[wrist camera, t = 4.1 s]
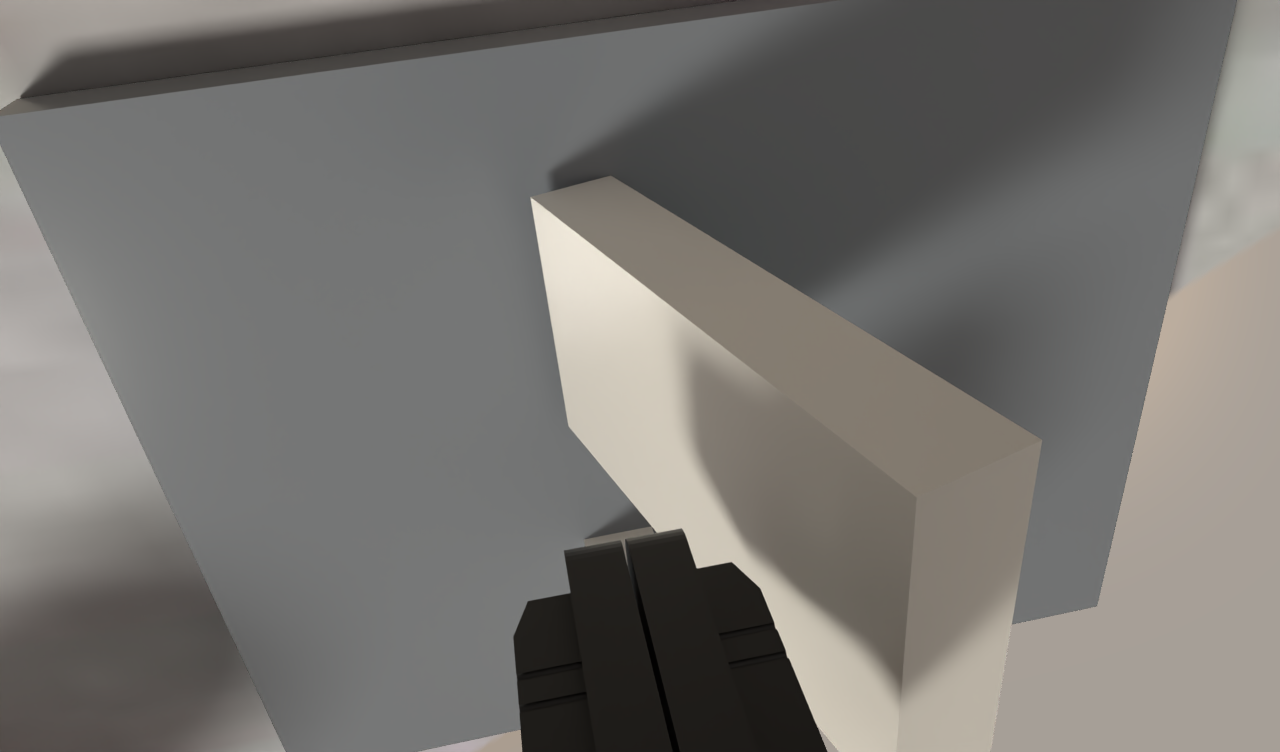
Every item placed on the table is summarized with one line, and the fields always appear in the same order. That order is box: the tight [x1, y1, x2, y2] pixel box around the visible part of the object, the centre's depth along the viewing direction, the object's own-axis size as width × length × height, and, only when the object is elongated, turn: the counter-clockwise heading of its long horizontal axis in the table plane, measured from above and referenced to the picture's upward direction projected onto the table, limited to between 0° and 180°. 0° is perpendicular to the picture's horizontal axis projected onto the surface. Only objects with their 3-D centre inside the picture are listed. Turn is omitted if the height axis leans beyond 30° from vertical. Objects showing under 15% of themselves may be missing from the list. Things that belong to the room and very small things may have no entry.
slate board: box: [0, 0, 1237, 752], centre depth 21 cm, size 17×22×1 cm
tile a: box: [530, 176, 1042, 752], centre depth 14 cm, size 5×2×10 cm, turn 6°
